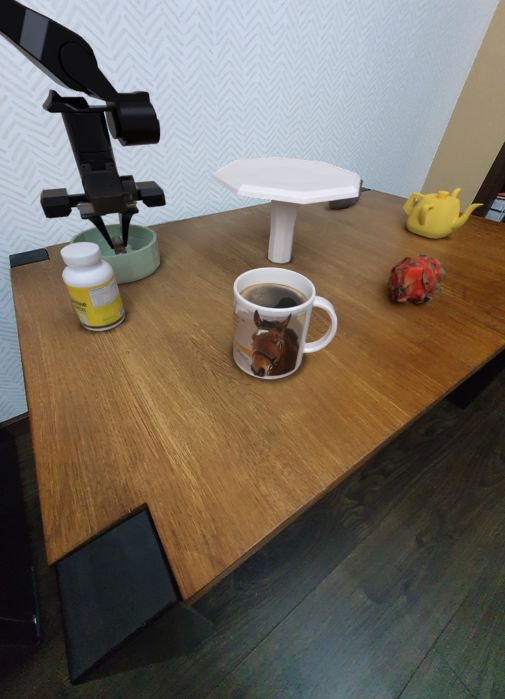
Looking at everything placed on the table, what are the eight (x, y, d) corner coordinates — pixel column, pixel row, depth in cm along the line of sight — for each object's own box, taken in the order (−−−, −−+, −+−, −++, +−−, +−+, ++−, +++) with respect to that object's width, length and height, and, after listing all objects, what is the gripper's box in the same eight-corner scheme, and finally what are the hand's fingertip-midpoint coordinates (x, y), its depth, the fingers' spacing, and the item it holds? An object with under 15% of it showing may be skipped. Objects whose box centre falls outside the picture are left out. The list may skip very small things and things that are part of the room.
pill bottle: (82, 312, 49) (54, 241, 42) (125, 305, 51) (105, 236, 44) (81, 336, 45) (49, 263, 37) (127, 328, 47) (106, 256, 39)
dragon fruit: (424, 295, 61) (389, 324, 56) (400, 259, 61) (363, 286, 56) (466, 275, 53) (429, 308, 48) (438, 235, 53) (398, 263, 48)
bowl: (82, 292, 54) (71, 262, 50) (77, 255, 64) (67, 229, 60) (169, 276, 59) (164, 248, 55) (151, 245, 69) (147, 220, 65)
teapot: (464, 244, 77) (486, 202, 70) (409, 239, 77) (426, 197, 71) (443, 224, 87) (461, 185, 80) (395, 220, 88) (409, 182, 81)
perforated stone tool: (334, 213, 90) (339, 187, 85) (320, 208, 93) (324, 183, 88) (363, 204, 97) (369, 180, 93) (349, 200, 100) (354, 176, 96)
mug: (265, 322, 49) (271, 257, 42) (331, 358, 44) (351, 291, 36) (218, 355, 43) (215, 286, 36) (287, 401, 38) (300, 331, 30)
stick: (118, 262, 55) (115, 252, 54) (111, 245, 60) (109, 235, 59) (129, 260, 56) (127, 250, 54) (122, 243, 61) (120, 233, 60)
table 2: (366, 257, 69) (392, 173, 58) (298, 310, 52) (315, 207, 41) (267, 224, 81) (272, 150, 70) (186, 258, 65) (177, 169, 54)
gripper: (18, 164, 38) (65, 276, 49) (167, 156, 45) (180, 257, 55) (22, 148, 46) (62, 248, 56) (150, 142, 52) (164, 234, 63)
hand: (119, 247), depth 57 cm, fingers closed on stick, 2 cm apart
